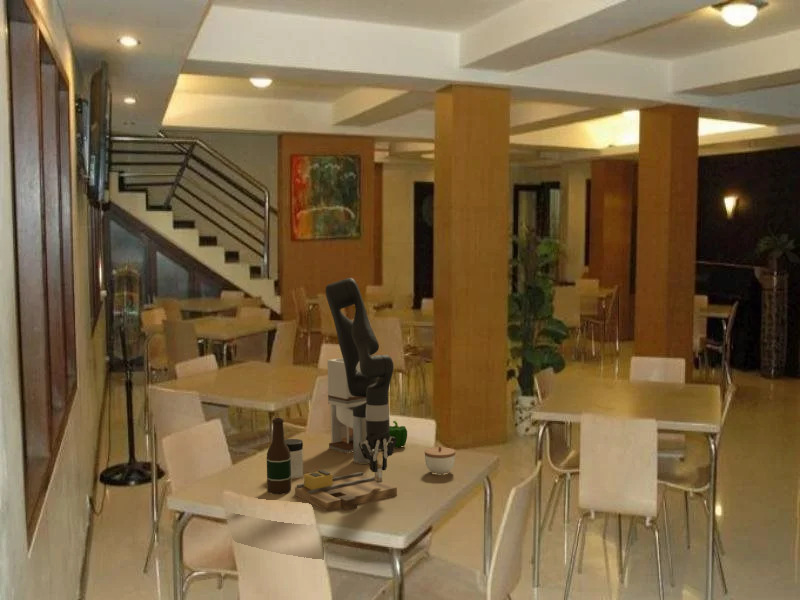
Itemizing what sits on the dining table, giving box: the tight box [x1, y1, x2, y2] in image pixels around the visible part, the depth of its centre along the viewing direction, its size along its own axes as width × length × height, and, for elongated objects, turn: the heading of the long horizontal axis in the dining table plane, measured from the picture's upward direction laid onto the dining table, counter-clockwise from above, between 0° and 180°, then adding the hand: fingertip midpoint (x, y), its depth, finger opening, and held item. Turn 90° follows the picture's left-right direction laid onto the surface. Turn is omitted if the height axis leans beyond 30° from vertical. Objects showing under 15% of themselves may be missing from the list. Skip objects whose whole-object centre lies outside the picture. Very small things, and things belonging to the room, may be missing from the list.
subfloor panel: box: [294, 471, 398, 512], centre depth 272 cm, size 26×26×3 cm
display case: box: [327, 357, 366, 454], centre depth 332 cm, size 11×11×35 cm
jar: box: [284, 438, 304, 480], centre depth 295 cm, size 9×8×12 cm
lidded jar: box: [424, 445, 456, 474], centre depth 297 cm, size 11×11×9 cm
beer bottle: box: [266, 417, 292, 495], centre depth 277 cm, size 8×8×24 cm
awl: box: [374, 450, 383, 483], centre depth 271 cm, size 3×3×10 cm
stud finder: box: [303, 469, 334, 490], centre depth 273 cm, size 7×6×4 cm
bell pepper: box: [389, 420, 408, 448], centre depth 335 cm, size 8×8×10 cm
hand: (378, 470), depth 271 cm, fingers closed on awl, 3 cm apart
